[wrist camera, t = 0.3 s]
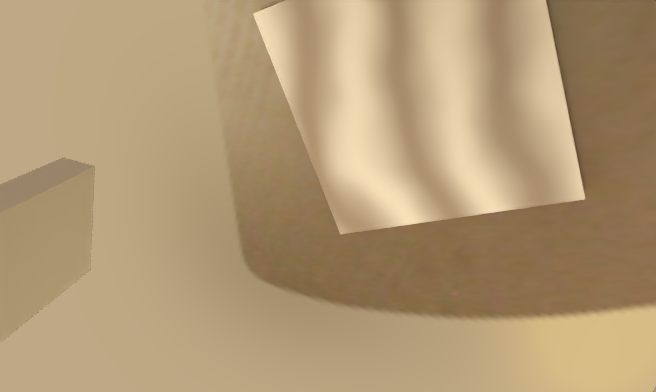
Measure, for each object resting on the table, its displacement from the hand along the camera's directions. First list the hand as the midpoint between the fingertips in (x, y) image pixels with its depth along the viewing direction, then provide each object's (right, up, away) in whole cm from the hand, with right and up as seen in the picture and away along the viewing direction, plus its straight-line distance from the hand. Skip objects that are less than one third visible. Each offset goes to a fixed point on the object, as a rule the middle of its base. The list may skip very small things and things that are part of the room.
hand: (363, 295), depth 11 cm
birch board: (+5, +9, +24) cm, 26 cm away
